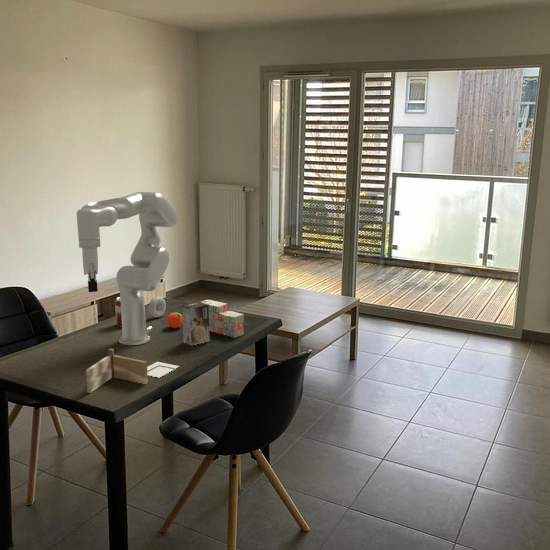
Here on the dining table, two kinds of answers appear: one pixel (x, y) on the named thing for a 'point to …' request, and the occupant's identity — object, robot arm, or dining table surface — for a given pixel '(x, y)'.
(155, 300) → the donut
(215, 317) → the stack of blocks
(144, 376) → the wooden hinged panel
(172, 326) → the clementine
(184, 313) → the coffee box
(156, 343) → the dining table surface
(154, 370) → the card
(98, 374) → the pale wooden plank
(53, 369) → the dining table surface
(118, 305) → the soda can
